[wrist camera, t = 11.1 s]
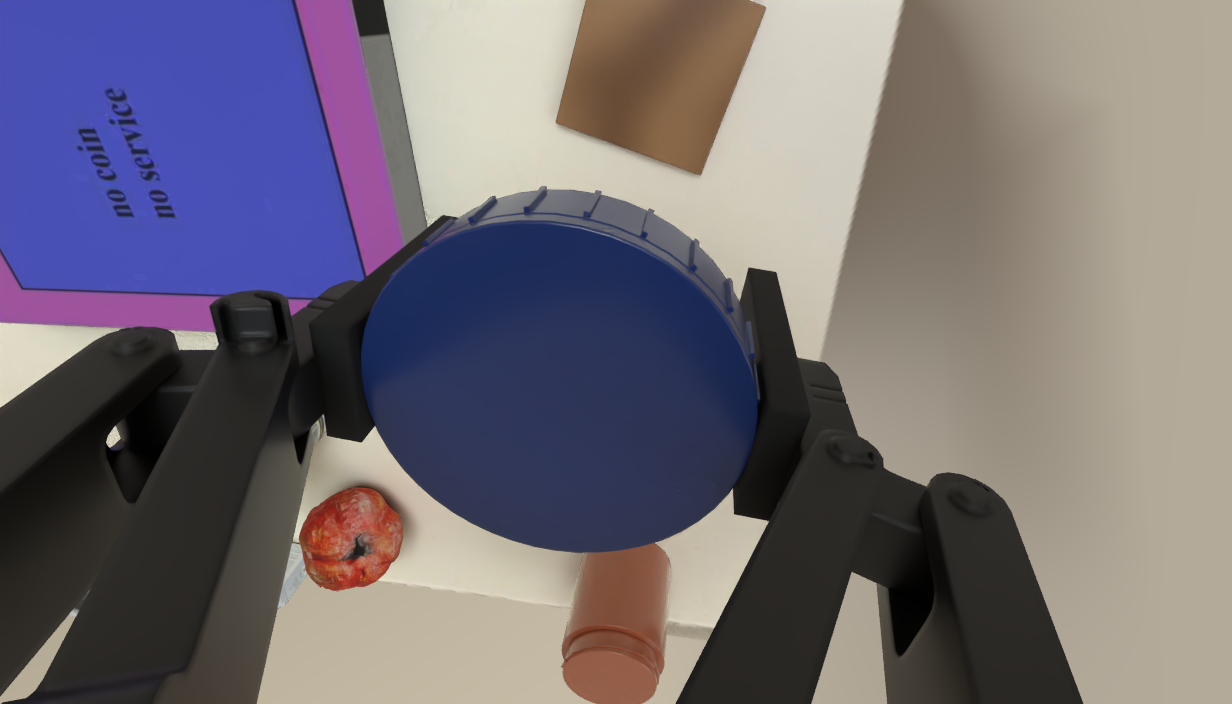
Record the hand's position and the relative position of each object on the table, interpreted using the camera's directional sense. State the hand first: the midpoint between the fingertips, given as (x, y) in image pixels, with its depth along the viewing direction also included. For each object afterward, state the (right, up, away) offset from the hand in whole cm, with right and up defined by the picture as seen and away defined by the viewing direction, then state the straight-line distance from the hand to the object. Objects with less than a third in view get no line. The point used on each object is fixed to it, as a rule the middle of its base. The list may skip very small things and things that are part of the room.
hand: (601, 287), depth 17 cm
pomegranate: (-19, -15, +32) cm, 40 cm away
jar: (+1, -19, +31) cm, 36 cm away
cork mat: (+2, +12, +12) cm, 18 cm away
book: (-26, +10, +18) cm, 33 cm away
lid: (-1, -3, -5) cm, 6 cm away
